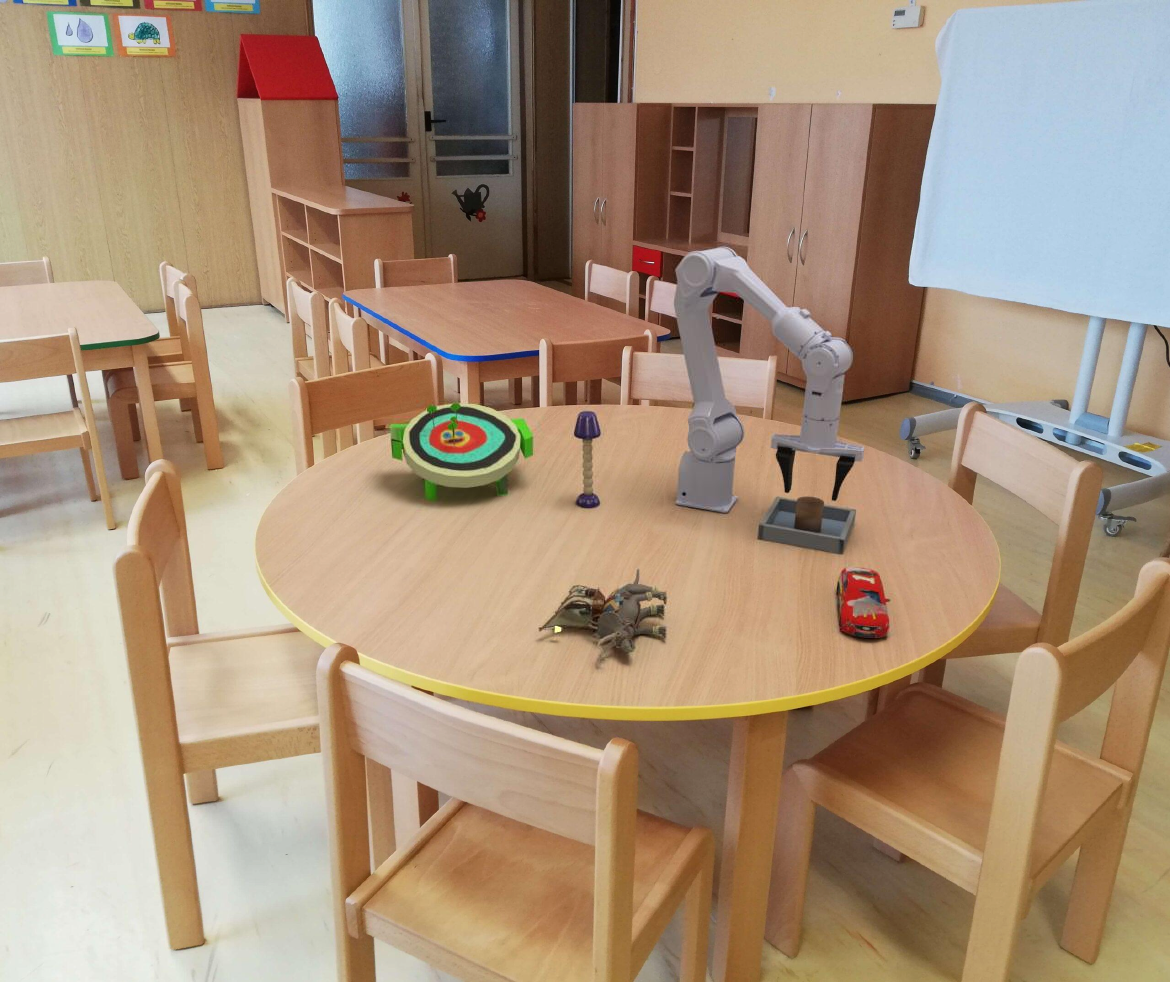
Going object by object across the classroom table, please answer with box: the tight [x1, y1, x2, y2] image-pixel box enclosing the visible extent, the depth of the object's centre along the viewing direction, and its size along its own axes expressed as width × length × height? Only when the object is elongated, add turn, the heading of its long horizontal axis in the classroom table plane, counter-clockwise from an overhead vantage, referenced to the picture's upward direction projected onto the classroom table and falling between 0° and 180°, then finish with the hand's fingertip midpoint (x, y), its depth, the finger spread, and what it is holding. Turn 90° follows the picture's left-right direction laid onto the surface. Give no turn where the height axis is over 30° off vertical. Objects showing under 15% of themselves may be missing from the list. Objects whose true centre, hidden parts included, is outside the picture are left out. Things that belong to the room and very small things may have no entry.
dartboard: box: [389, 401, 534, 501], centre depth 168 cm, size 25×19×16 cm
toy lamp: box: [573, 410, 602, 509], centre depth 163 cm, size 5×5×17 cm
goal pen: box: [757, 496, 857, 555], centre depth 156 cm, size 14×14×2 cm
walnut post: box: [794, 496, 825, 533], centre depth 156 cm, size 4×4×5 cm
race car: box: [836, 566, 891, 639], centre depth 130 cm, size 16×7×5 cm, turn 167°
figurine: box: [538, 568, 668, 667], centre depth 124 cm, size 20×6×17 cm
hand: (810, 494), depth 154 cm, fingers open, 7 cm apart
